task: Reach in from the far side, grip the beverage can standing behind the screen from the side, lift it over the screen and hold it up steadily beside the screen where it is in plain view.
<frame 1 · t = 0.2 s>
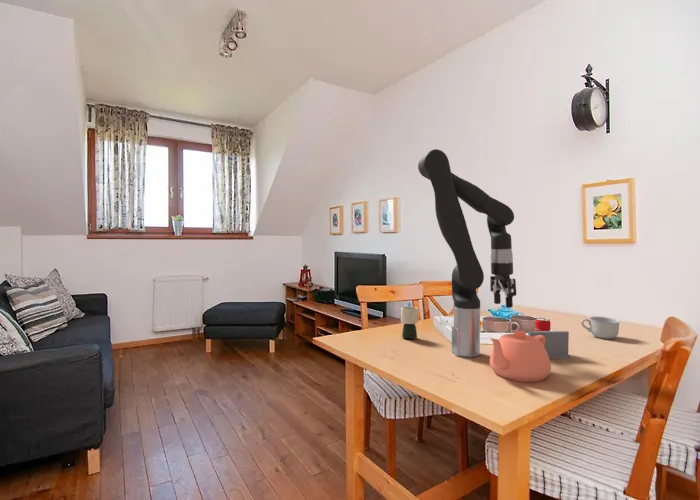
hand: (503, 305, 138), 18 cm above the table, tool pointing down, fingers open, 8 cm apart
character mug: (409, 338, 160), on the table
beverage can: (542, 351, 142), on the table
teacup: (599, 337, 163), on the table
teapot: (517, 374, 117), on the table
screen: (548, 356, 135), on the table
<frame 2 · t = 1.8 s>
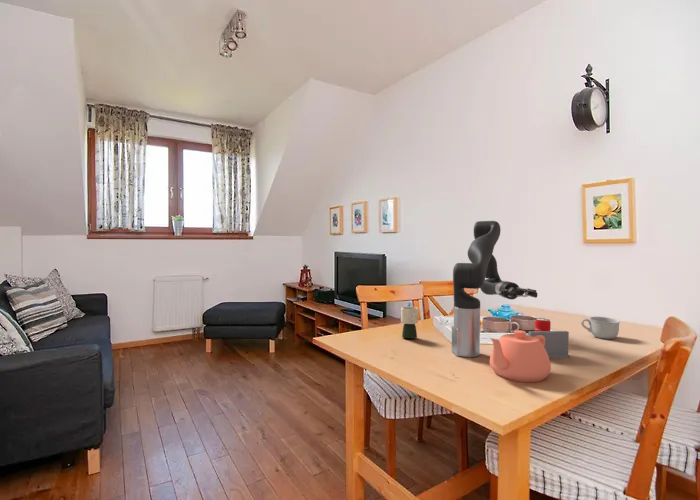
hand: (526, 295, 153), 19 cm above the table, tool horizontal, fingers open, 8 cm apart
nothing on the table moved.
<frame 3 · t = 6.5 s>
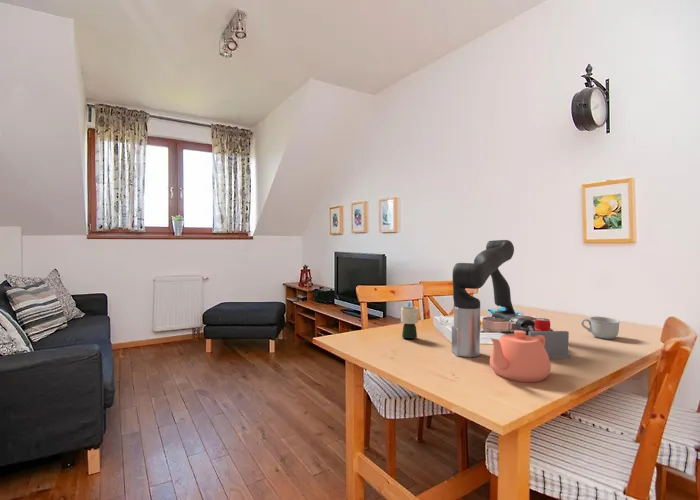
hand: (546, 336, 139), 6 cm above the table, tool horizontal, fingers open, 4 cm apart
beverage can: (542, 351, 142), on the table, touching gripper
everything else where it was.
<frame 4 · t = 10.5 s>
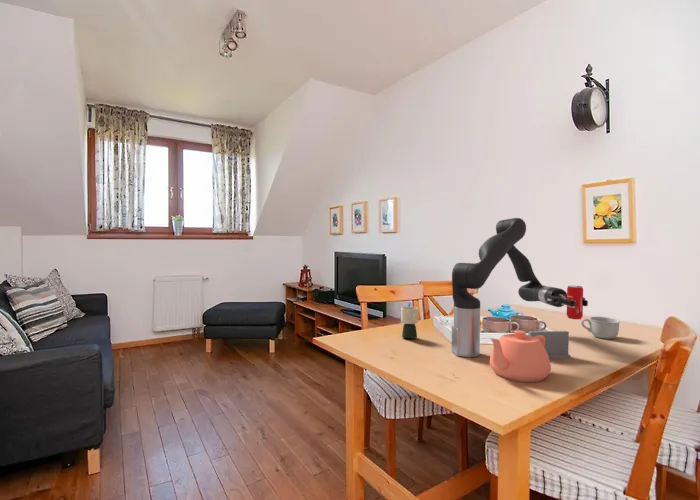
hand: (580, 303, 139), 18 cm above the table, tool horizontal, fingers closed on beverage can, 4 cm apart
beverage can: (574, 318, 141), point 12 cm above the table, touching gripper
everything else where it was.
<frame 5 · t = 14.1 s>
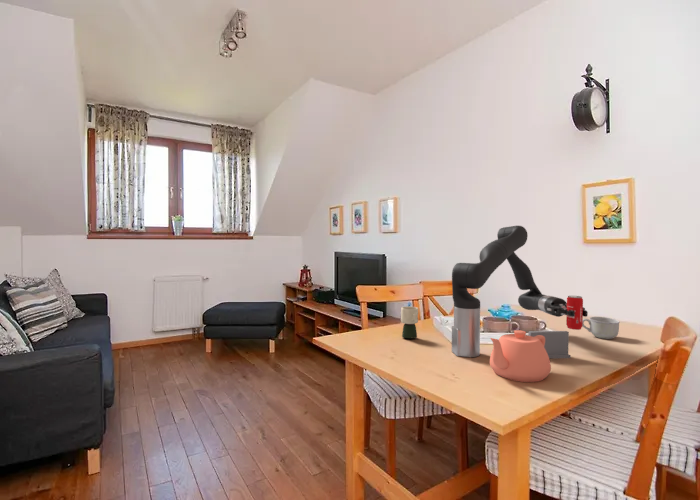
hand: (580, 313, 139), 15 cm above the table, tool horizontal, fingers closed on beverage can, 4 cm apart
beverage can: (574, 328, 141), point 8 cm above the table, touching gripper
everything else where it was.
at the end: the gripper is holding beverage can; beverage can inside the target area (0.2 cm from its centre), point 8.4 cm above the table; beverage can tilted 1° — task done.
